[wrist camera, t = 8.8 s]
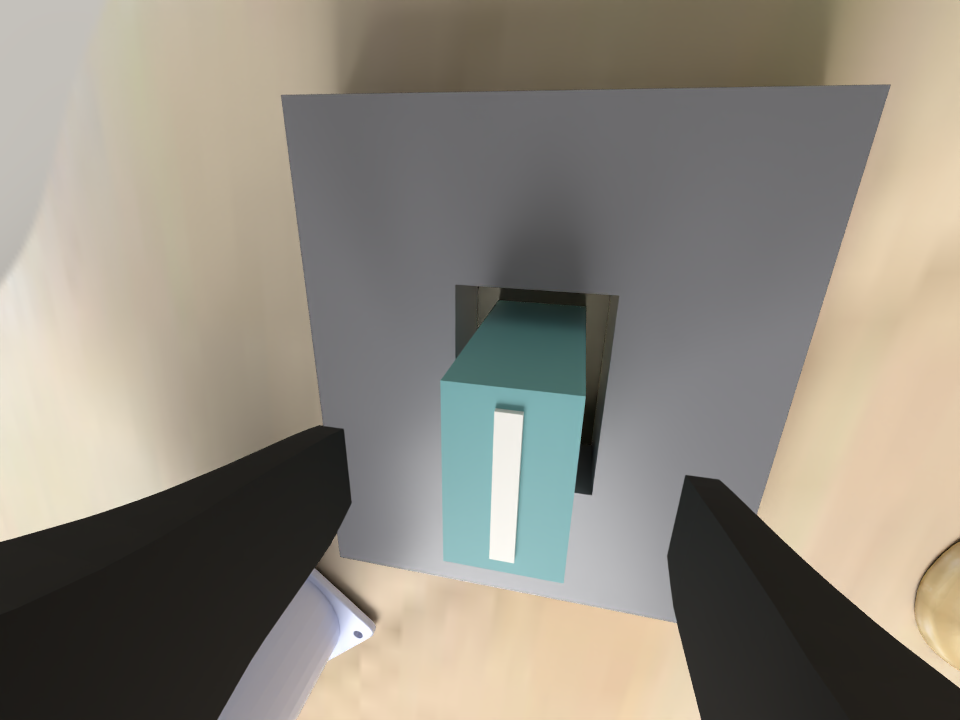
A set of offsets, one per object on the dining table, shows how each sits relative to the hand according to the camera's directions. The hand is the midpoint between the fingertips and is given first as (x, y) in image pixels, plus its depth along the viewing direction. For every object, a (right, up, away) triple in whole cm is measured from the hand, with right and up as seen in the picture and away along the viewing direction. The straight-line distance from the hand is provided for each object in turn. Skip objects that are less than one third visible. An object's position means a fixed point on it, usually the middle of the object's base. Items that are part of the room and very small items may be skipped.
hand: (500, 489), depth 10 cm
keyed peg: (+2, +2, +7) cm, 8 cm away
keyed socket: (+2, +3, +7) cm, 8 cm away
